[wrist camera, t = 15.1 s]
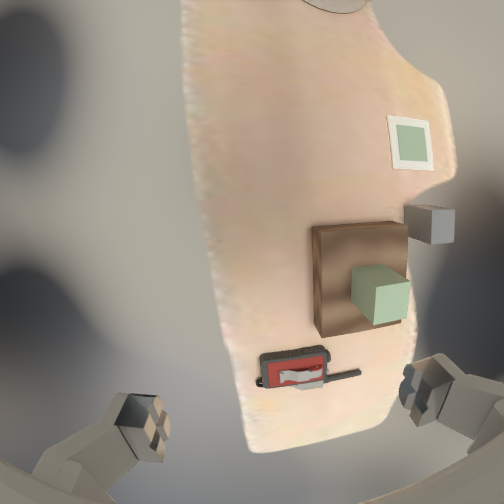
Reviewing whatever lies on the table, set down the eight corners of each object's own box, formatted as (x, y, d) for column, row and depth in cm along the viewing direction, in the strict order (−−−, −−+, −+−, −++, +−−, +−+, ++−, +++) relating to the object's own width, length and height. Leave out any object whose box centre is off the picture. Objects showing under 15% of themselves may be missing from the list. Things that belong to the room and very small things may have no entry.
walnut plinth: (311, 226, 41) (320, 232, 36) (392, 221, 41) (408, 225, 37) (313, 323, 45) (321, 338, 40) (387, 310, 45) (400, 322, 40)
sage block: (351, 268, 38) (376, 287, 30) (382, 264, 38) (410, 281, 30) (350, 300, 39) (373, 325, 31) (380, 295, 39) (406, 318, 31)
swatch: (386, 115, 37) (387, 115, 37) (427, 121, 38) (428, 120, 37) (392, 169, 39) (393, 168, 39) (432, 170, 40) (434, 170, 39)
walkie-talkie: (257, 389, 48) (358, 372, 48) (258, 404, 44) (366, 385, 44) (252, 352, 46) (362, 335, 46) (253, 366, 42) (371, 347, 42)
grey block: (403, 205, 41) (431, 210, 33) (426, 204, 41) (454, 209, 33) (403, 234, 42) (431, 244, 34) (425, 233, 42) (453, 242, 34)
